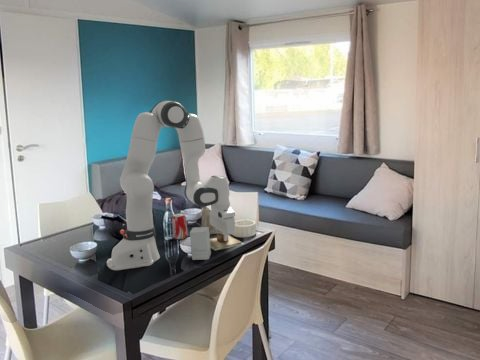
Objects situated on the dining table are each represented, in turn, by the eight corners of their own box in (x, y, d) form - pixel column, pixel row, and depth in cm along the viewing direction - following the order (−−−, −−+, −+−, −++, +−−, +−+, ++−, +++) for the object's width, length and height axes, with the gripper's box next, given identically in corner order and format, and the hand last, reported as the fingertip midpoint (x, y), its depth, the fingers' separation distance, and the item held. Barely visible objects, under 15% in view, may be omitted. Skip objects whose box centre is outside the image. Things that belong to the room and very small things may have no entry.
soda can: (185, 240, 227) (183, 216, 225) (171, 240, 229) (169, 216, 227) (189, 236, 234) (187, 212, 232) (176, 235, 236) (174, 212, 233)
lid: (216, 249, 211) (215, 240, 211) (204, 241, 223) (204, 233, 222) (241, 243, 217) (241, 234, 216) (229, 236, 229) (228, 228, 228)
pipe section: (239, 239, 224) (238, 227, 223) (228, 233, 234) (227, 222, 233) (260, 235, 229) (259, 223, 228) (248, 229, 239) (248, 218, 238)
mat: (215, 251, 210) (215, 250, 210) (201, 242, 223) (201, 241, 223) (244, 244, 217) (244, 243, 217) (230, 236, 230) (230, 235, 230)
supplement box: (211, 254, 207) (209, 226, 204) (208, 260, 200) (206, 231, 197) (194, 254, 208) (192, 227, 205) (191, 260, 200) (189, 232, 198)
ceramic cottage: (203, 235, 233) (203, 206, 231) (197, 228, 249) (197, 200, 246) (234, 234, 237) (234, 204, 235) (226, 226, 252) (226, 199, 250)
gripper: (205, 206, 225) (207, 234, 227) (224, 216, 207) (225, 246, 209) (217, 204, 227) (219, 232, 230) (236, 213, 210) (238, 243, 212)
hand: (222, 238), depth 220 cm, fingers open, 5 cm apart
